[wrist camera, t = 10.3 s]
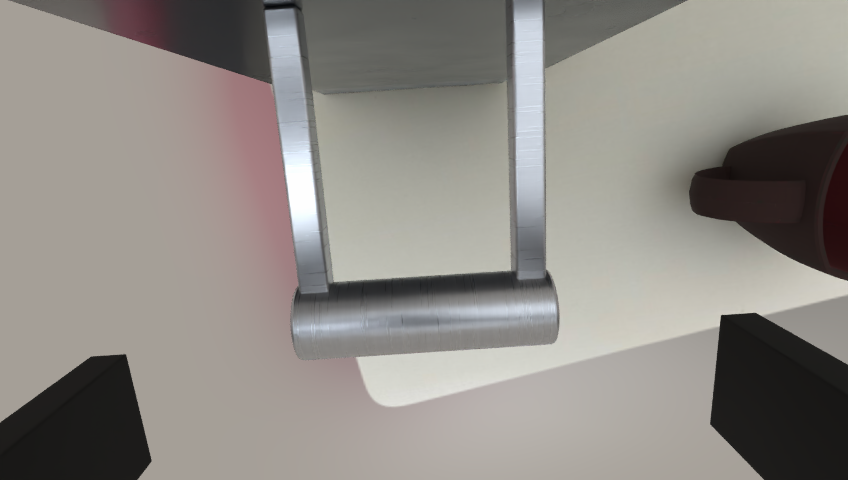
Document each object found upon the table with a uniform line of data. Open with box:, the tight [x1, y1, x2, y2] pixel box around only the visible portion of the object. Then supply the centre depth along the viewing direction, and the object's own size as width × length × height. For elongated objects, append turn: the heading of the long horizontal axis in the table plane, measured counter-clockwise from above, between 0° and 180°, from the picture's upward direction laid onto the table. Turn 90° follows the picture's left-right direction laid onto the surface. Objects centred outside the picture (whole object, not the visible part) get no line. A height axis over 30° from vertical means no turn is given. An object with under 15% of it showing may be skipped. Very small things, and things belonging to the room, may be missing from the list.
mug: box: [689, 115, 848, 281], centre depth 32 cm, size 10×14×12 cm
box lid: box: [10, 0, 687, 360], centre depth 18 cm, size 20×14×9 cm
